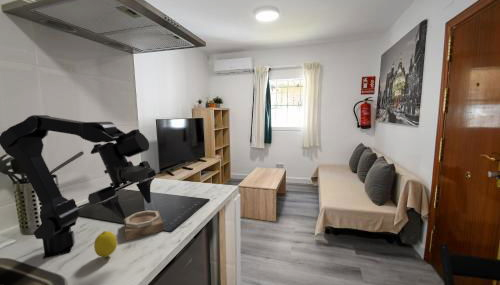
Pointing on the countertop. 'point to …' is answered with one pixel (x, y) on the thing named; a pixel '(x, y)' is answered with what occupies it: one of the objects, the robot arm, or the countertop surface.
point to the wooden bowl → (142, 224)
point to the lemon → (105, 244)
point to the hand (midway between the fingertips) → (137, 210)
